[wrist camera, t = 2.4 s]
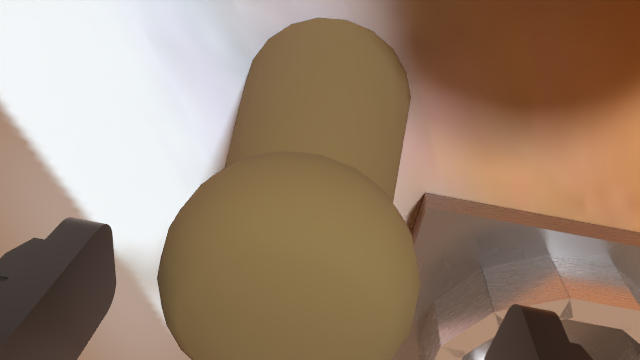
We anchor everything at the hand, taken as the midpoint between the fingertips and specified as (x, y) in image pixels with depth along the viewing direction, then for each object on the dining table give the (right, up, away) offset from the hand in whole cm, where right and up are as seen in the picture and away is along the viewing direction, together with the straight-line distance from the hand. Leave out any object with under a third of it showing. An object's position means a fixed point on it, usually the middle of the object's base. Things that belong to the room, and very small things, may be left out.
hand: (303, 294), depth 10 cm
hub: (+10, -4, +13) cm, 17 cm away
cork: (+1, +5, +8) cm, 10 cm away
